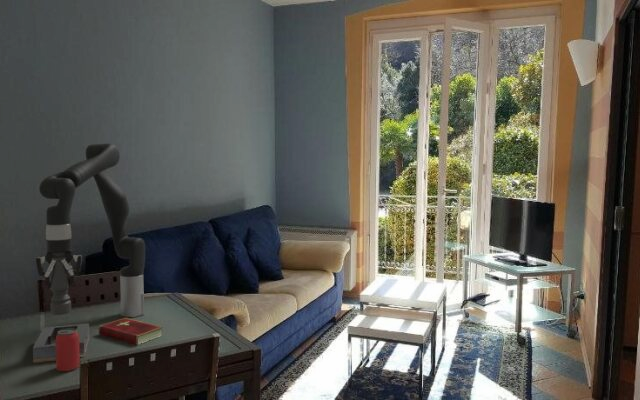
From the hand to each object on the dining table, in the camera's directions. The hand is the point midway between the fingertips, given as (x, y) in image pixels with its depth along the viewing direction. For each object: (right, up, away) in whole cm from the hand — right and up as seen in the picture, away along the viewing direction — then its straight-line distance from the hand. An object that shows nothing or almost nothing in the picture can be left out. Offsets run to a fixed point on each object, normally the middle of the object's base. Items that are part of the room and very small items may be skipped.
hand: (60, 286), depth 167 cm
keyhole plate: (-2, -23, +6) cm, 23 cm away
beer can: (+8, -24, -10) cm, 27 cm away
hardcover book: (+16, -23, +20) cm, 34 cm away
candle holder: (0, -9, +1) cm, 9 cm away
